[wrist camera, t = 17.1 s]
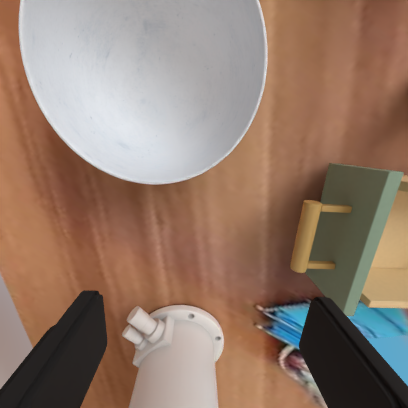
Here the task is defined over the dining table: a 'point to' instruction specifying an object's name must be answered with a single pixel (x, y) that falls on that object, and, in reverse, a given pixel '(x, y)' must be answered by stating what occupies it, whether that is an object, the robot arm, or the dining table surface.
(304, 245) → the drawer
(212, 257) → the dining table surface
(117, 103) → the chinaware
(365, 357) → the robot arm
